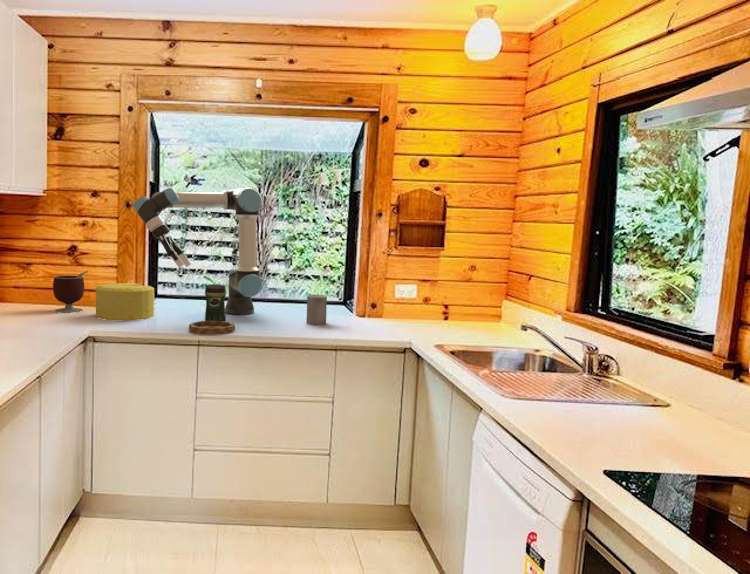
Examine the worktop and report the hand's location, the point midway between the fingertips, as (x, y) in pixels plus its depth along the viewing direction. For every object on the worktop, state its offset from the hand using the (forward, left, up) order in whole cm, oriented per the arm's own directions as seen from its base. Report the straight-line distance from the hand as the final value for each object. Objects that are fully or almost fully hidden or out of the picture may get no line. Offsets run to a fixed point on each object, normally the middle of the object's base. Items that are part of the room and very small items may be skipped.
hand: (185, 265), depth 278 cm
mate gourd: (+47, -45, -27) cm, 70 cm away
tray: (-7, +23, -27) cm, 36 cm away
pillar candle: (-59, +17, -27) cm, 68 cm away
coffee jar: (-12, +7, -27) cm, 30 cm away
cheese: (+24, -23, -27) cm, 42 cm away
